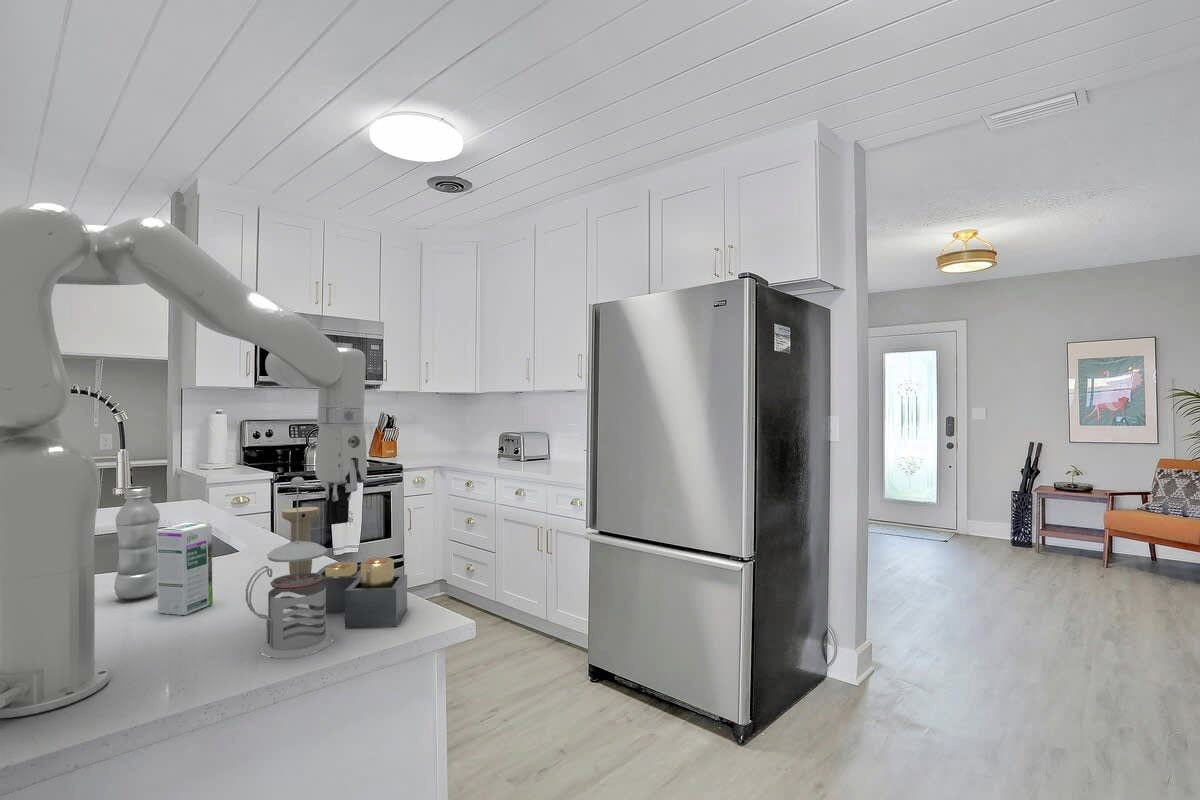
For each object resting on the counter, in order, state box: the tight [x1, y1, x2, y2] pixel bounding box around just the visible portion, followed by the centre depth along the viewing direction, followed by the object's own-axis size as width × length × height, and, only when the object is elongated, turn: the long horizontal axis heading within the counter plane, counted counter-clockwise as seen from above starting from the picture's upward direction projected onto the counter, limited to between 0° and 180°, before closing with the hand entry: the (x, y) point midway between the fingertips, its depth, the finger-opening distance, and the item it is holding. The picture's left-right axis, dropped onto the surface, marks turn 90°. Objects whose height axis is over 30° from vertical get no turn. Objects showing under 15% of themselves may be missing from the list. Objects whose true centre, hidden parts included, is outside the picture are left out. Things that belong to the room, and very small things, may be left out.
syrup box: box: [156, 521, 214, 616], centre depth 106 cm, size 6×6×14 cm
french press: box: [245, 476, 334, 659], centre depth 91 cm, size 10×12×25 cm
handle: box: [281, 506, 320, 575], centre depth 118 cm, size 5×6×15 cm
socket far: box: [308, 564, 361, 614], centre depth 108 cm, size 8×8×6 cm
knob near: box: [360, 556, 395, 588], centre depth 102 cm, size 5×5×6 cm
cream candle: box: [324, 560, 358, 577], centre depth 108 cm, size 5×5×6 cm
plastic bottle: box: [113, 485, 161, 600], centre depth 112 cm, size 6×7×20 cm
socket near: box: [344, 574, 408, 629], centre depth 102 cm, size 8×8×6 cm
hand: (337, 522), depth 108 cm, fingers closed
